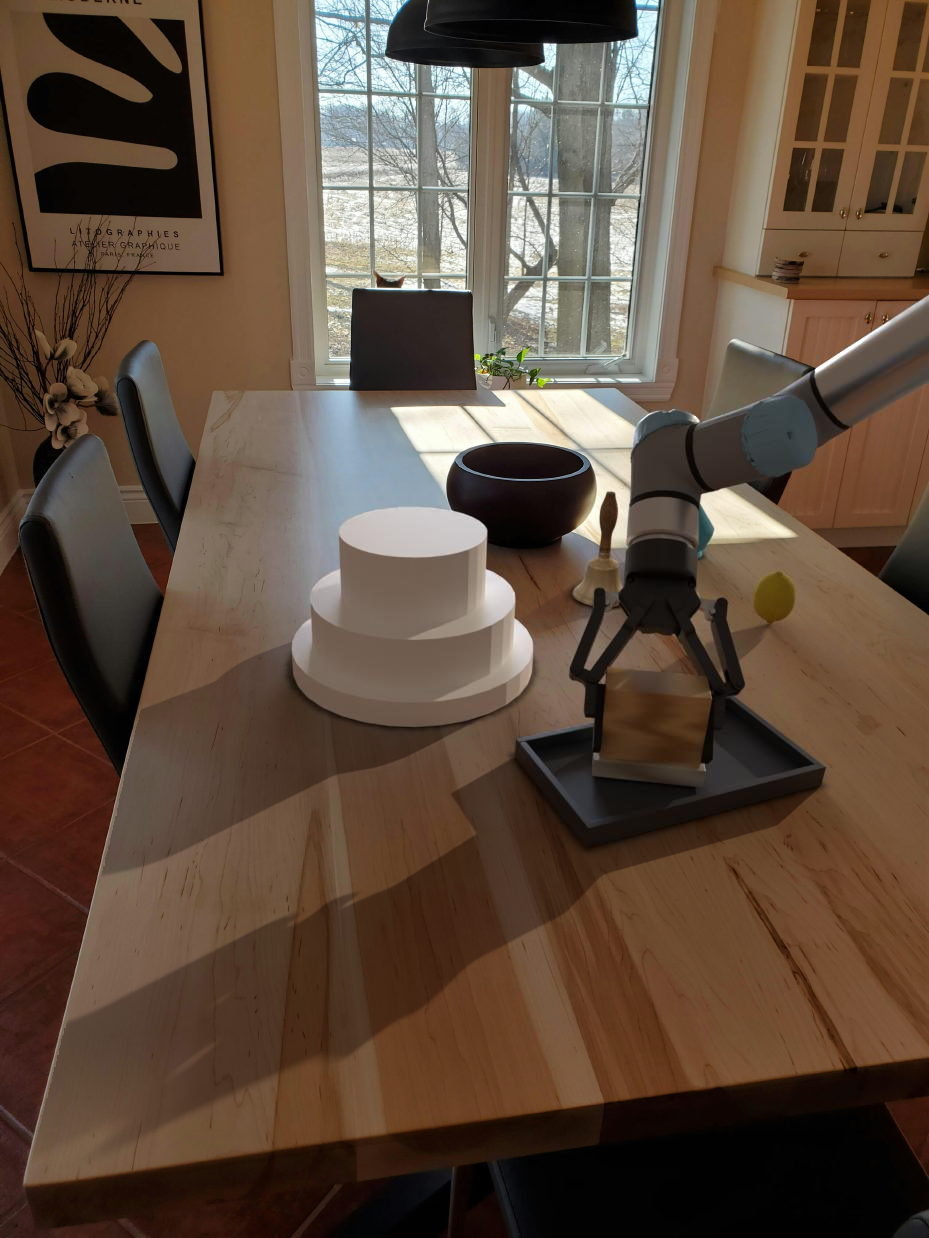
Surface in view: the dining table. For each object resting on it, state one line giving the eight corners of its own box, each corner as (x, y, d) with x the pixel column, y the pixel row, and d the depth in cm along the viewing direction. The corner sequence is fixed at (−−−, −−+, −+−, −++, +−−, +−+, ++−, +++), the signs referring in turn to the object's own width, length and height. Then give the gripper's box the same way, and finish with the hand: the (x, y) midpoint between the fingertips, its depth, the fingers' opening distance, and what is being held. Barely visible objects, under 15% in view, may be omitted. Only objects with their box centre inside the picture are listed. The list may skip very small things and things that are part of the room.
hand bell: (563, 588, 136) (572, 486, 129) (613, 582, 138) (624, 482, 131) (587, 610, 129) (597, 504, 122) (638, 604, 131) (651, 500, 124)
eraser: (697, 756, 95) (711, 673, 90) (702, 787, 90) (718, 701, 85) (592, 746, 96) (601, 663, 91) (592, 776, 91) (601, 690, 87)
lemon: (778, 613, 130) (788, 562, 126) (797, 631, 125) (808, 578, 121) (742, 615, 129) (751, 564, 125) (760, 633, 124) (770, 580, 120)
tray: (821, 785, 92) (826, 766, 91) (586, 848, 83) (588, 828, 82) (727, 709, 105) (730, 692, 104) (514, 756, 96) (515, 738, 95)
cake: (548, 724, 101) (560, 580, 93) (279, 728, 99) (268, 581, 91) (516, 610, 128) (523, 491, 120) (304, 612, 126) (297, 490, 118)
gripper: (762, 571, 98) (759, 774, 91) (554, 555, 101) (536, 751, 93) (779, 543, 91) (778, 760, 84) (556, 526, 94) (536, 736, 86)
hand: (651, 755), depth 89 cm, fingers closed on eraser, 10 cm apart
